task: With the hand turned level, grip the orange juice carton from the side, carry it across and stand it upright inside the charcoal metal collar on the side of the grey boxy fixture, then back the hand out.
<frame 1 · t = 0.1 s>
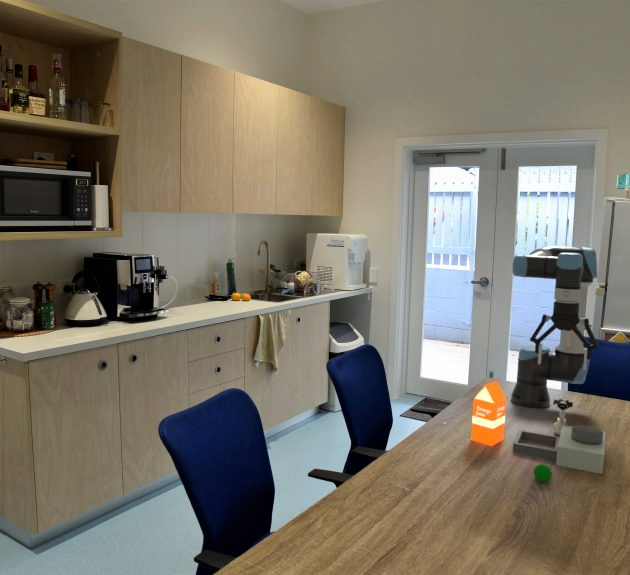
hand: (561, 366, 194), 28 cm above the table, tool pointing down, fingers open, 13 cm apart
orange juice: (487, 440, 204), on the table
grey boxy fixture: (536, 448, 197), on the table
polyhedron: (542, 481, 173), on the table
valve: (560, 435, 210), on the table
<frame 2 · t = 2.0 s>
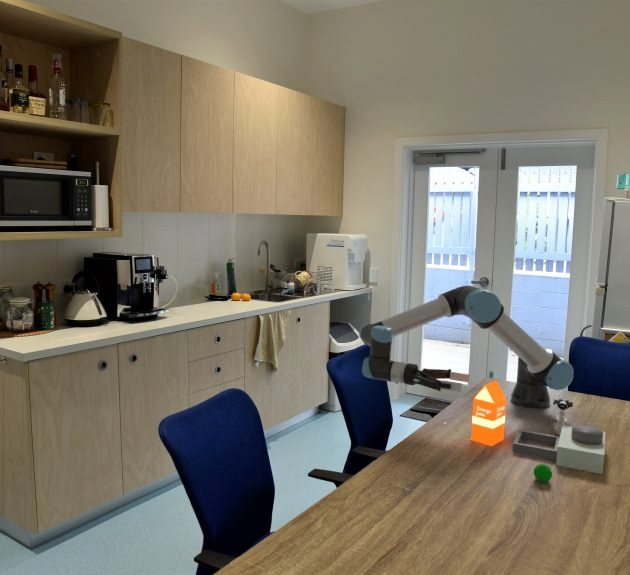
hand: (465, 382, 205), 19 cm above the table, tool horizontal, fingers open, 13 cm apart
nothing on the table moved.
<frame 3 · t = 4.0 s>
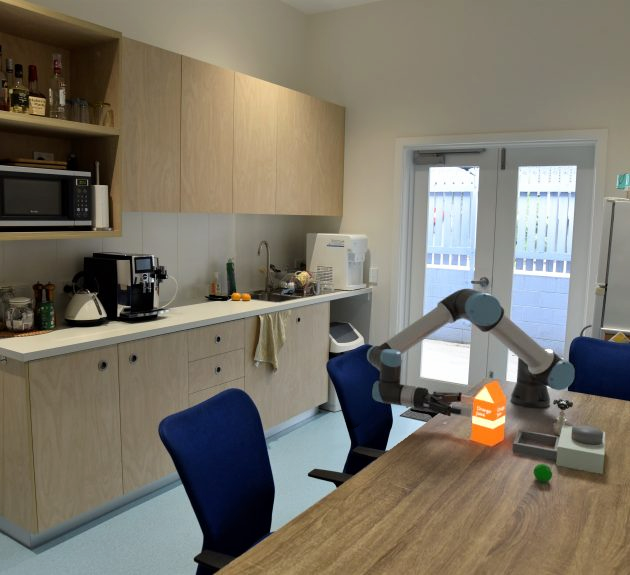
hand: (475, 407, 204), 11 cm above the table, tool horizontal, fingers open, 13 cm apart
nothing on the table moved.
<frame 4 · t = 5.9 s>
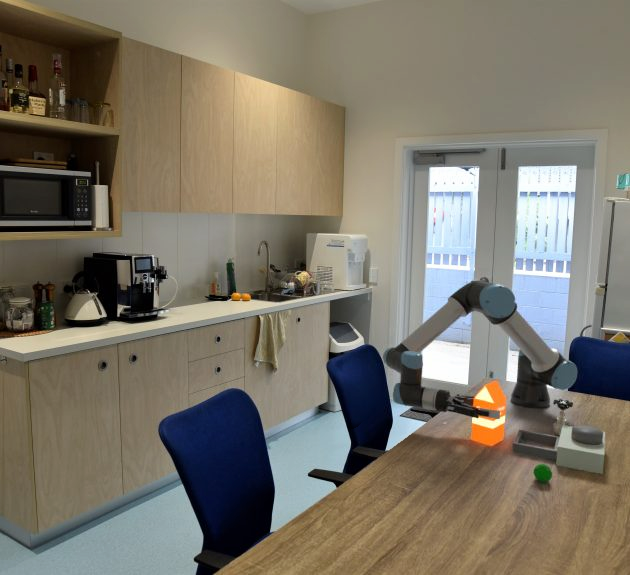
hand: (502, 410, 201), 11 cm above the table, tool horizontal, fingers closed on orange juice, 10 cm apart
orange juice: (487, 440, 204), on the table, touching gripper
everything else where it was.
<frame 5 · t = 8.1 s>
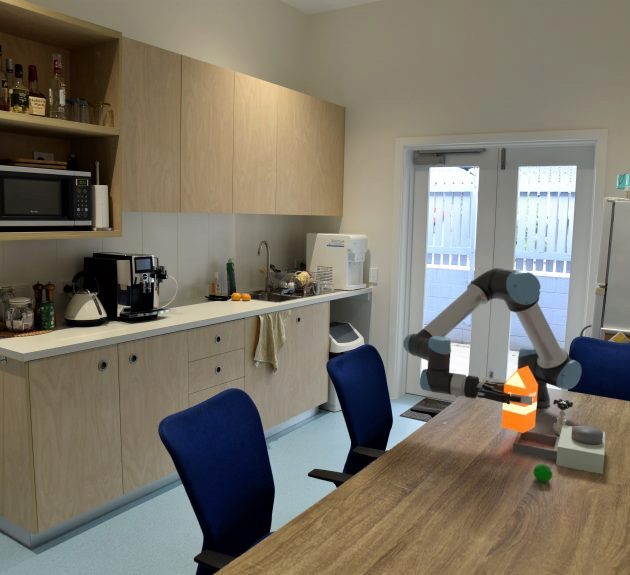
hand: (534, 396, 195), 18 cm above the table, tool horizontal, fingers closed on orange juice, 10 cm apart
orange juice: (518, 427, 198), point 6 cm above the table, touching gripper
everything else where it was.
when the fingers open (12 cm above the table, at t = 10.4 s): orange juice drops 1 cm, resting in grey boxy fixture.
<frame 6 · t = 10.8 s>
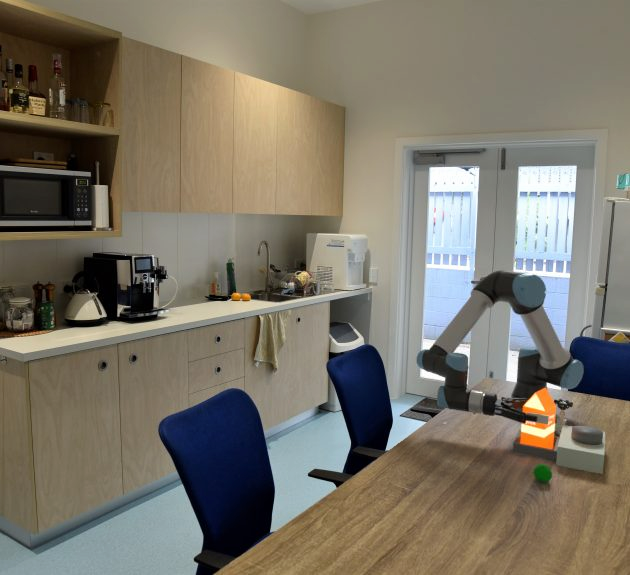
hand: (550, 413, 194), 12 cm above the table, tool horizontal, fingers open, 13 cm apart
orange juice: (536, 449, 197), resting in grey boxy fixture
everything else where it was.
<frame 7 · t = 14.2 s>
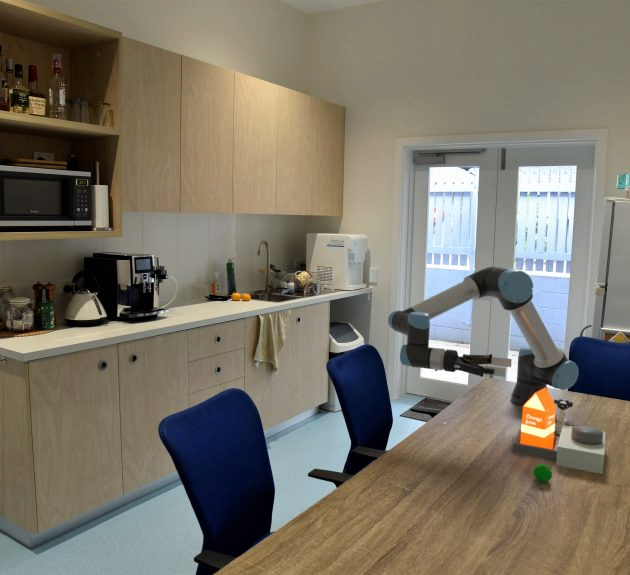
hand: (508, 367, 198), 26 cm above the table, tool horizontal, fingers open, 13 cm apart
nothing on the table moved.
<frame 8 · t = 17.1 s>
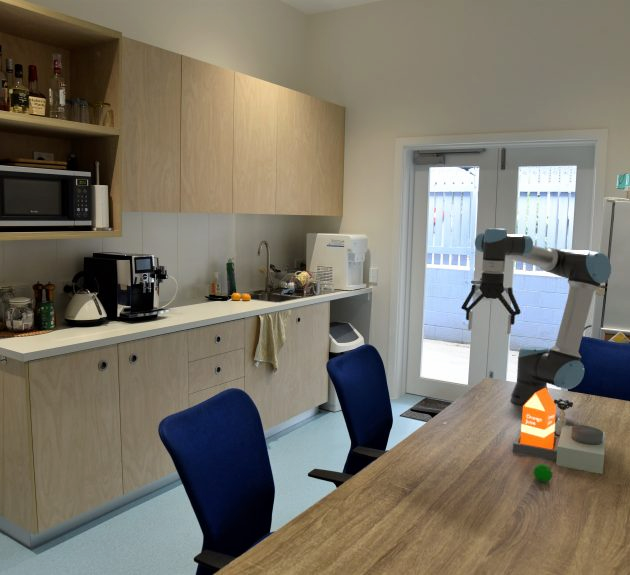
hand: (489, 331, 214), 35 cm above the table, tool pointing down, fingers open, 13 cm apart
nothing on the table moved.
at the end: orange juice 0.2 cm off-centre on the grey boxy fixture, point 0.0 cm above the grey boxy fixture's base; orange juice tilted 0°; the gripper is holding nothing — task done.
